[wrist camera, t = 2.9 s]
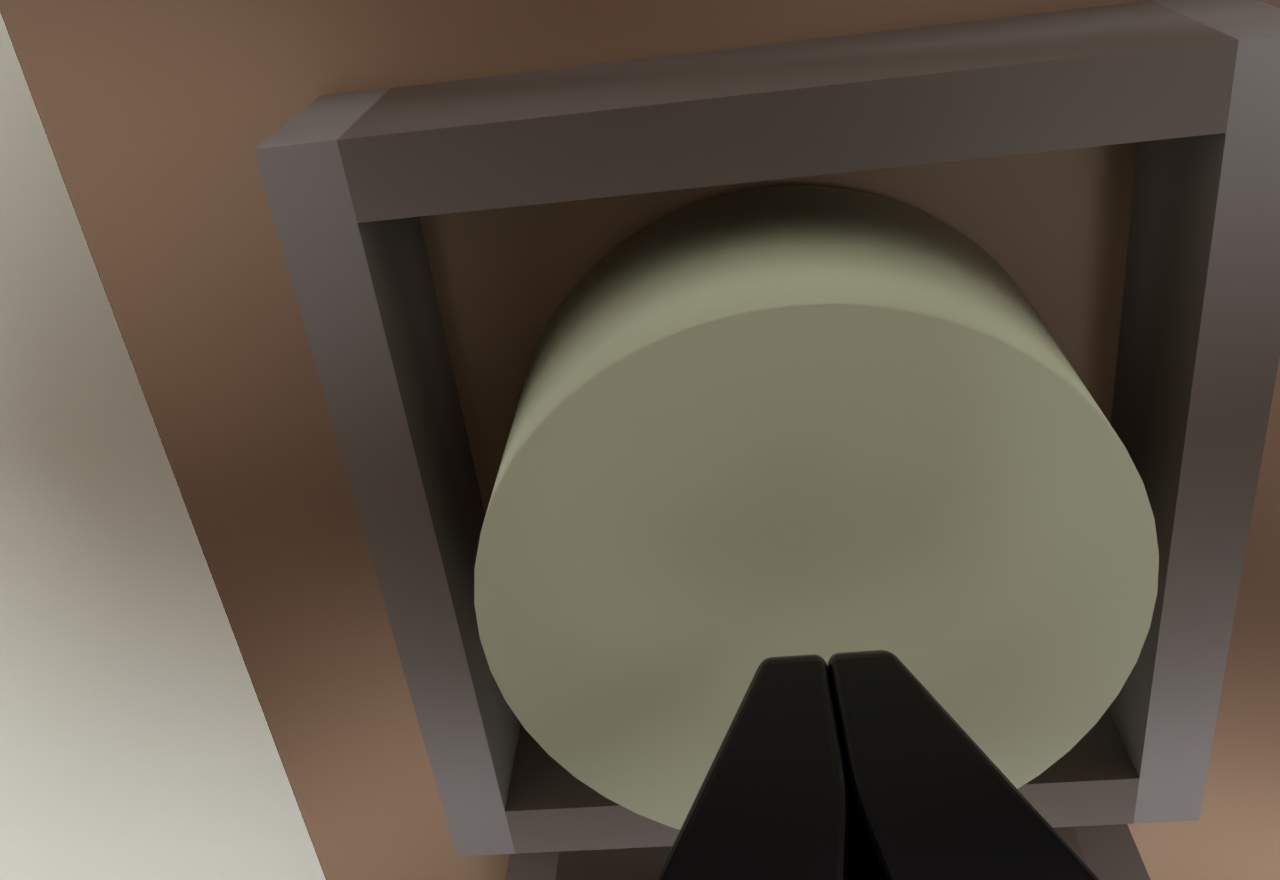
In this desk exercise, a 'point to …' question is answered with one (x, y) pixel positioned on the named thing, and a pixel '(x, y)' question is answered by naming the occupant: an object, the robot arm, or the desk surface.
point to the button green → (804, 494)
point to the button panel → (566, 250)
